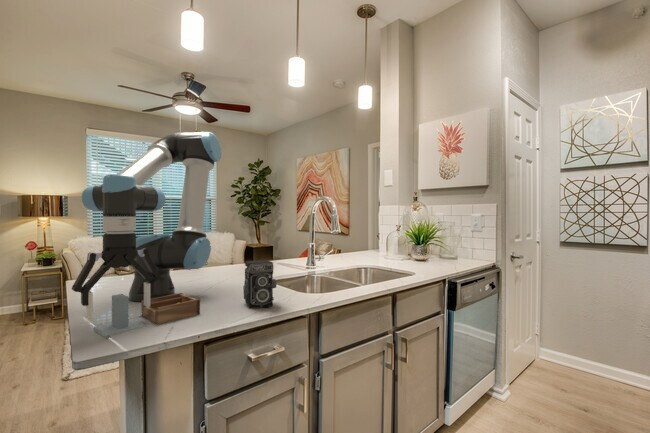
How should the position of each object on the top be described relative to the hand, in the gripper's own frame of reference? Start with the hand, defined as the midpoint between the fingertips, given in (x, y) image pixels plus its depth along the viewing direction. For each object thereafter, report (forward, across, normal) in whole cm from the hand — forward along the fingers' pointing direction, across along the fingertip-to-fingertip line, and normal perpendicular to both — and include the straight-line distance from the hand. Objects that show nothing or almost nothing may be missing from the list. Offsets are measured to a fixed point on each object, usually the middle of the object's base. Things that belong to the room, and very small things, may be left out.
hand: (119, 311), depth 86 cm
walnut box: (+5, +14, 0) cm, 14 cm away
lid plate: (+5, 0, 0) cm, 5 cm away
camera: (+5, +38, -12) cm, 40 cm away
